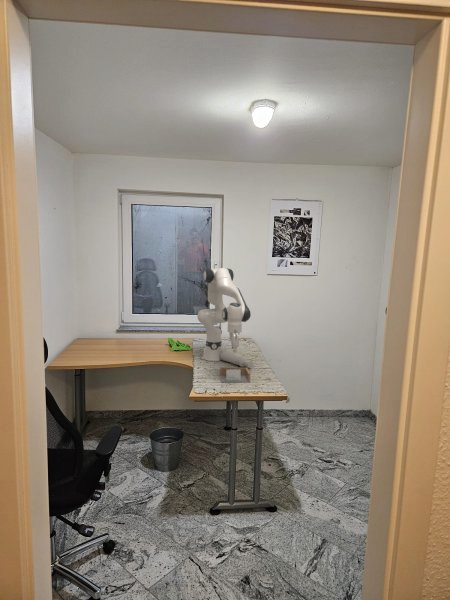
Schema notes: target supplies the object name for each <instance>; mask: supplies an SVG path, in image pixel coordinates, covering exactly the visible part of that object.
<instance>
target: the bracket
mask: <svg viewBox="0 0 450 600" xmlns="http://www.w3.org/2000/svg"><path fill="white" fill-rule="evenodd" d="M240 375H241V370H240V369H226V380H227V381H241V378H240Z"/></svg>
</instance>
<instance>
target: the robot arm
mask: <svg viewBox="0 0 450 600" xmlns="http://www.w3.org/2000/svg"><path fill="white" fill-rule="evenodd" d="M234 274H235V273H234V271H233V270H232V269H231V268H224V267H218V268H217V267H216V268H215V267H214V268H206V269H204V272H203V280H204V282H205V283H207V284H208V287H207V301H208V303H209V304H211V305H212V306H214V308H204V309H203V308H202V309H200V310H198V313H197V321H199V323H201V325H203V326H204V328H205V333H206V341H205V346H204V348H203V354H202V356H201V358H200V359H201V360H204V361H205V360H206V361H209V362H219V361H223V360H222V359H221V358H220V353H221V352H222V350H223V349H224V348H223V347H222V343H223V342H222V331H221V329H220V328H218V327H216V326H215V324H222V323H223V324H224V323H227V332H228V335H229V340H230V344H231V349H233V350H232V351H233V352H234V353H237V349H238V348H239V346H240V336H239V335H240V333H242V330H243V328H242V325H243V323H246V322H248V321H249V320H250V318H251V309H250V308H249V307H248V305H247V304H246V301H245V299H244V296H243V294H242V292H241V290H240V289H239V288H238V287H237V286H236V285H235V284H234V282H233V280H234V278H235V277H234V276H235V275H234ZM223 296H226V297H229V298H230V297H231V298H232V299H234V300H235V301H236V302H230V303H229V304H228V306H225V304H224V300H223V299H224V298H223ZM242 322H243V323H242Z"/></svg>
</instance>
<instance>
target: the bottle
mask: <svg viewBox="0 0 450 600" xmlns="http://www.w3.org/2000/svg"><path fill="white" fill-rule="evenodd" d="M220 358H221V359H222V360H221V361H224V362H226V363H231V364H234V365H237V366H240V368H248V369H249V368H252V367H253V361H251V360H249V359H248V357H247V356H244V355H241V354H239V353H237V352H236V353H234V352H233V350H231V349H228V348H223V350H222V352H221V353H220Z"/></svg>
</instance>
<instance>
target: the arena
mask: <svg viewBox="0 0 450 600" xmlns="http://www.w3.org/2000/svg"><path fill="white" fill-rule="evenodd" d="M226 369H240V370H241V375H240V378H241V381H227V380H226ZM219 377H220V378H219V379H220V382H221V383H222V384H223V383H229V384H230V383H232V384H233V383H237V382H238V383H239V384H240V383H251V372H250V370H249V367H220V368H219Z"/></svg>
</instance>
